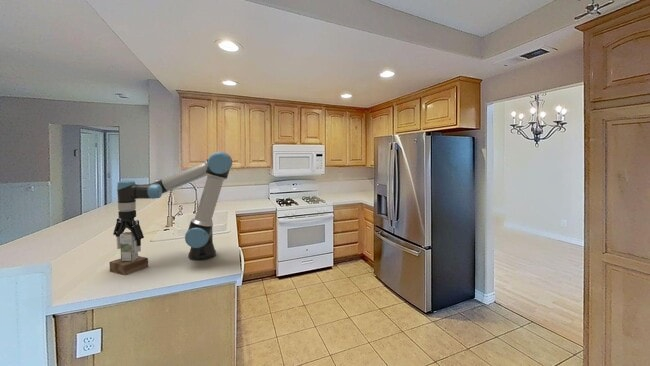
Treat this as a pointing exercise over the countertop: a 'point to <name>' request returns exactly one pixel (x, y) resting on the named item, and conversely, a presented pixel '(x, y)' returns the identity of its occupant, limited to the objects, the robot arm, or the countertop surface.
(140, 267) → the walnut plinth
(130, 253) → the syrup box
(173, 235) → the countertop surface
